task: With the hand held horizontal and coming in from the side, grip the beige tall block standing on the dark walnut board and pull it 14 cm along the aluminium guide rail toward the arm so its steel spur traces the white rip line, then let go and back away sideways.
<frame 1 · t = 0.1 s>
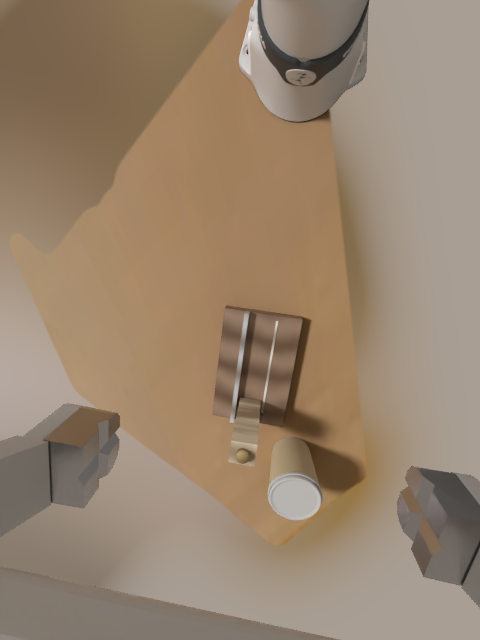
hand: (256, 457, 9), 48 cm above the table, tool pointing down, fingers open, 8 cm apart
coffee cup: (290, 451, 64), on the table
board: (255, 365, 60), on the table
beige tall block: (248, 430, 53), point 9 cm above the table, slide at 0.0 cm
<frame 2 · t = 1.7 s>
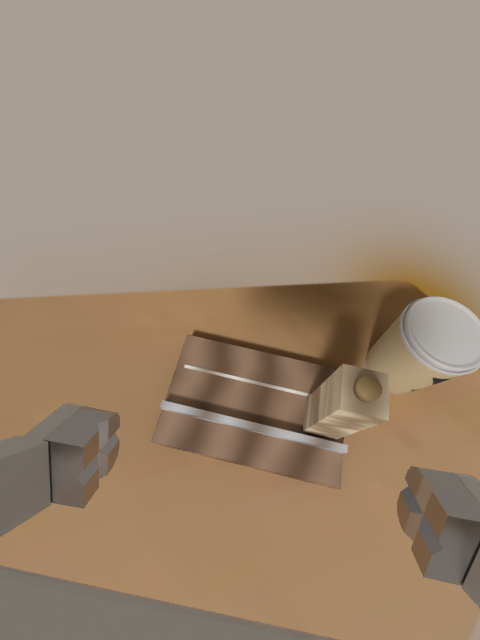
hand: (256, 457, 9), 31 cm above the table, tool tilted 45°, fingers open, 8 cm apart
coffee cup: (391, 367, 44), on the table
board: (254, 407, 40), on the table
beige tall block: (340, 402, 31), point 9 cm above the table, slide at 0.0 cm
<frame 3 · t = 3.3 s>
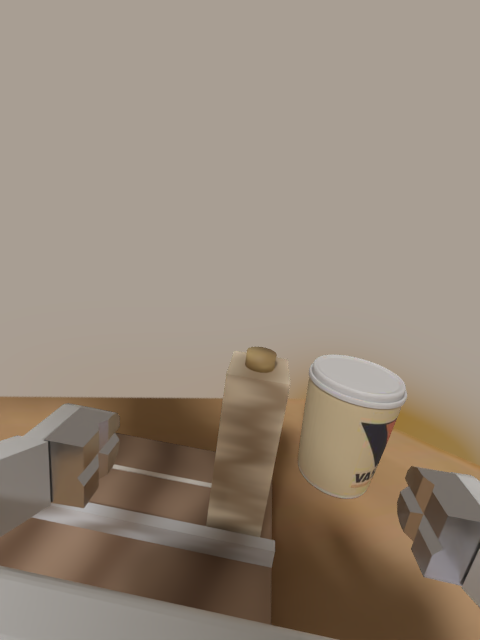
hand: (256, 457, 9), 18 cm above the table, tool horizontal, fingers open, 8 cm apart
coffee cup: (331, 471, 34), on the table
board: (137, 516, 26), on the table
beige tall block: (247, 436, 23), point 9 cm above the table, slide at 0.0 cm
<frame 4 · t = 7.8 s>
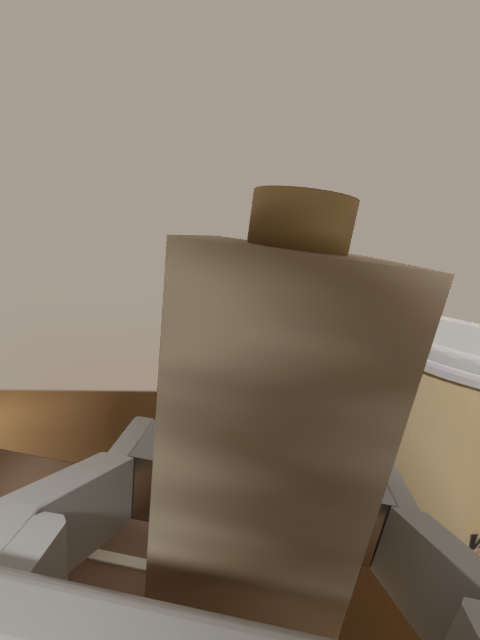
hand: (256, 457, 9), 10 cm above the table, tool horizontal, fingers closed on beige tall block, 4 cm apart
coffee cup: (399, 515, 19), on the table
beige tall block: (255, 476, 8), point 9 cm above the table, slide at 0.0 cm, touching gripper
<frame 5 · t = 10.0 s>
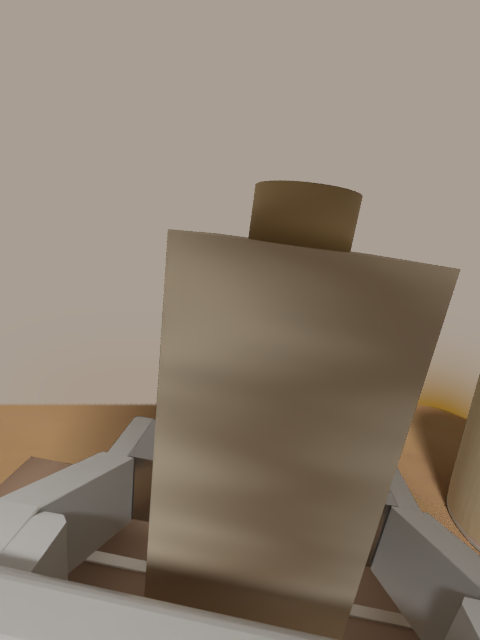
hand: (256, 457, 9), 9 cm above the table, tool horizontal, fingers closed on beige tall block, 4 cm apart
beige tall block: (256, 476, 8), point 9 cm above the table, slide at 7.1 cm, touching gripper
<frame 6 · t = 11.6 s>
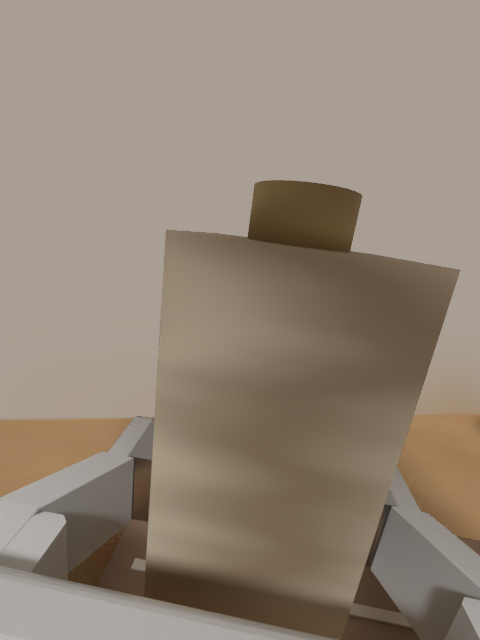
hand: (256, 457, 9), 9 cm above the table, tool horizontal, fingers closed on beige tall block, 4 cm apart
beige tall block: (255, 476, 8), point 9 cm above the table, slide at 13.9 cm, touching gripper
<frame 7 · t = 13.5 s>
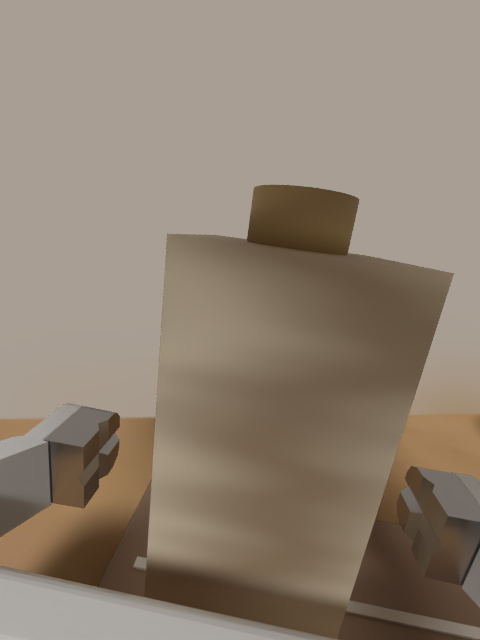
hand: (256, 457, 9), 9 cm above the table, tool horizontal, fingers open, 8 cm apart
beige tall block: (254, 475, 8), point 9 cm above the table, slide at 14.0 cm
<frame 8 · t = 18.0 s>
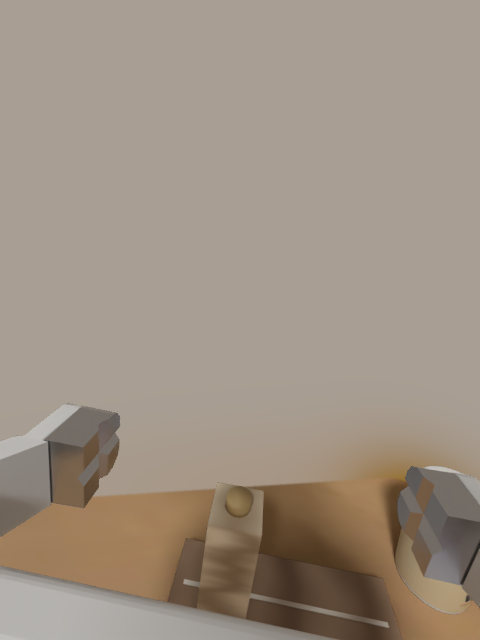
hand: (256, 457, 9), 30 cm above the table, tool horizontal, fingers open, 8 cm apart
coffee cup: (429, 577, 37), on the table
beige tall block: (229, 557, 26), point 9 cm above the table, slide at 14.0 cm
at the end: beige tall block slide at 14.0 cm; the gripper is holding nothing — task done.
